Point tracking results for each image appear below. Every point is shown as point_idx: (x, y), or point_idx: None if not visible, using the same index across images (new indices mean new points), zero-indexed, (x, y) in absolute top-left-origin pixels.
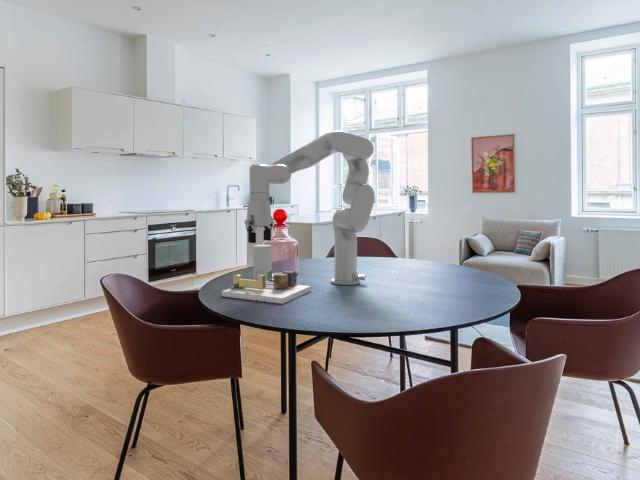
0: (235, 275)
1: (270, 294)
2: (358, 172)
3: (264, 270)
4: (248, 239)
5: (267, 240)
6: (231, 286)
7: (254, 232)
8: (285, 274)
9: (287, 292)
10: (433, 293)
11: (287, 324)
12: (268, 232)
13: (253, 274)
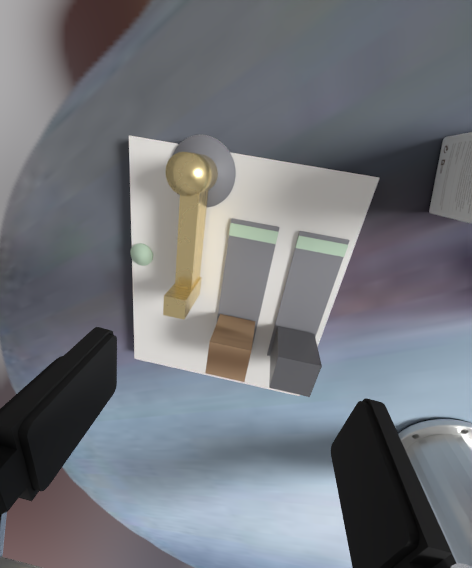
0: (170, 171)
1: (156, 321)
2: None
3: (468, 210)
4: (77, 345)
5: (346, 428)
6: (203, 138)
7: (24, 489)
8: (232, 376)
9: (197, 356)
10: (325, 558)
11: (26, 385)
12: (357, 547)
13: (469, 134)
